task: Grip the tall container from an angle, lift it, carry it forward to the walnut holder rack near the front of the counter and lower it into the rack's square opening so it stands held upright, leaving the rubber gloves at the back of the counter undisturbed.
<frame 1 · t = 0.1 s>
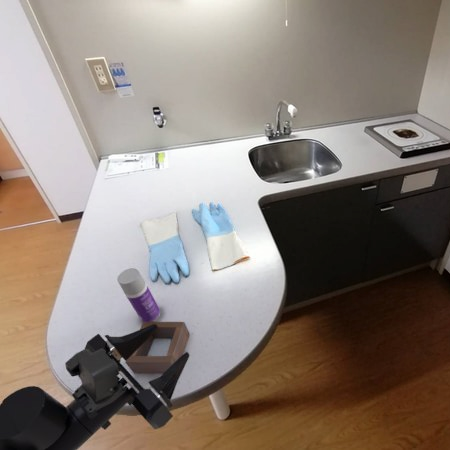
hand: (171, 338, 54), 16 cm above the worktop, tool horizontal, fingers open, 9 cm apart
container: (150, 315, 77), on the worktop
rubber gloves: (192, 240, 97), on the worktop
holder: (163, 352, 69), on the worktop
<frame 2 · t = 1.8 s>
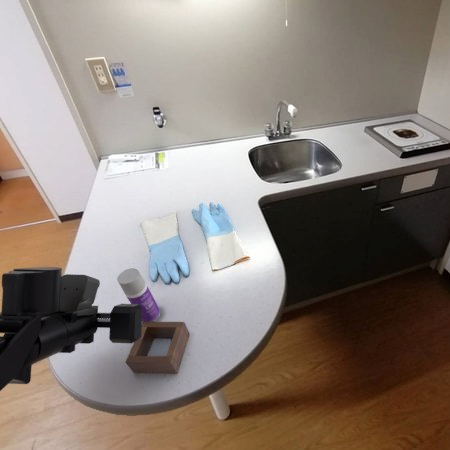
hand: (116, 310, 61), 14 cm above the worktop, tool tilted 45°, fingers open, 9 cm apart
nothing on the worktop moved.
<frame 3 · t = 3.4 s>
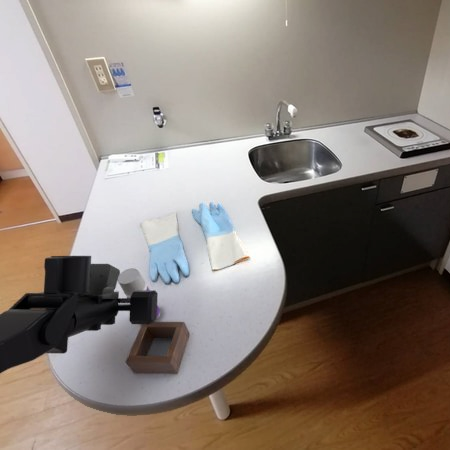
hand: (131, 299, 68), 10 cm above the worktop, tool tilted 45°, fingers open, 9 cm apart
nothing on the worktop moved.
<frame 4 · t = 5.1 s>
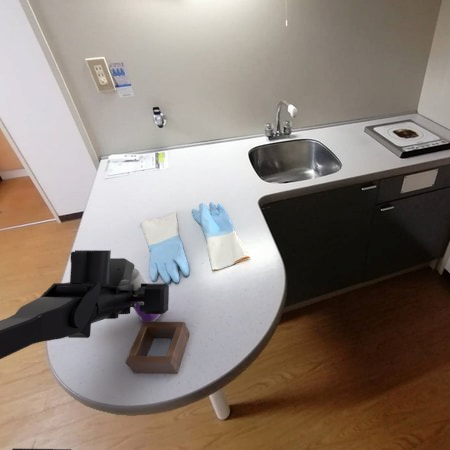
hand: (143, 292, 73), 7 cm above the worktop, tool tilted 45°, fingers closed on container, 4 cm apart
container: (150, 315, 77), on the worktop, touching gripper
everything else where it was.
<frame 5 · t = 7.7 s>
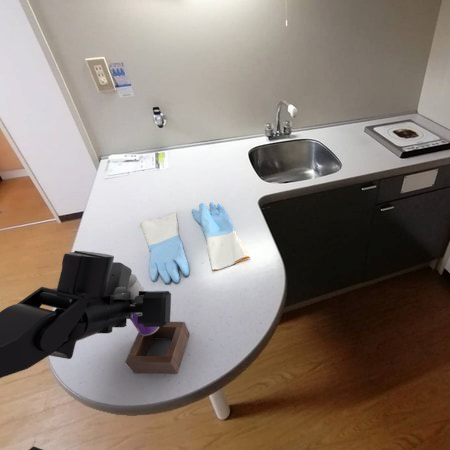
hand: (141, 301, 64), 13 cm above the worktop, tool tilted 45°, fingers closed on container, 4 cm apart
container: (149, 326, 68), point 5 cm above the worktop, touching gripper
everything else where it was.
when the fingers open (7 cm above the worktop, at t = 10.2 s): container stays where it is, resting in holder.
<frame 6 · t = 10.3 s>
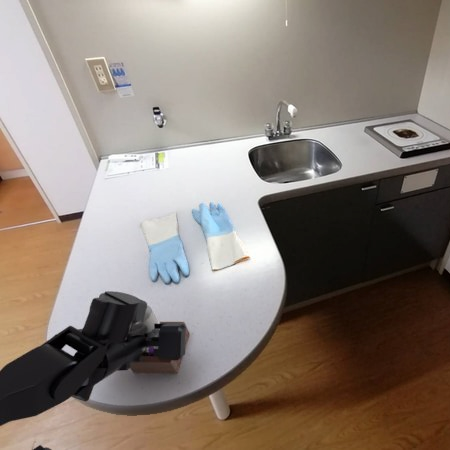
hand: (155, 330, 65), 7 cm above the worktop, tool tilted 45°, fingers open, 5 cm apart
container: (162, 353, 69), resting in holder
everything else where it was.
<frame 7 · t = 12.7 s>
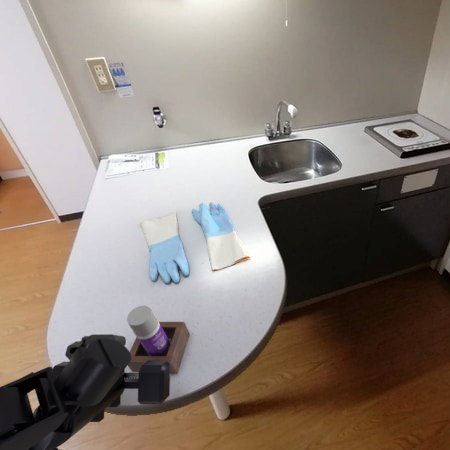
hand: (137, 363, 59), 8 cm above the worktop, tool tilted 45°, fingers open, 9 cm apart
nothing on the worktop moved.
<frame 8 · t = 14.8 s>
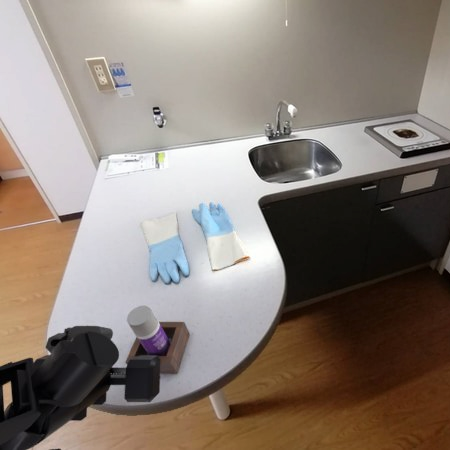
hand: (127, 358, 55), 13 cm above the worktop, tool tilted 45°, fingers open, 9 cm apart
nothing on the worktop moved.
at the end: container 0.2 cm off-centre in the holder, point 0.0 cm above the holder's base; container tilted 0°; rubber gloves moved 0.2 cm from its start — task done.
